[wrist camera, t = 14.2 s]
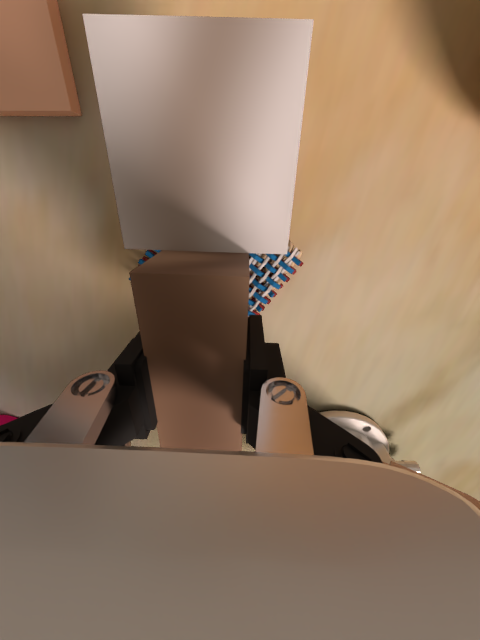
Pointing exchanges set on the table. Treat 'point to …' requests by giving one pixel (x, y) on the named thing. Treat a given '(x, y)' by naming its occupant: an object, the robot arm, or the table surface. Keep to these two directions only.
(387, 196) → the table surface
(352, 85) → the table surface
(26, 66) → the tile
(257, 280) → the woven mat
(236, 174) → the turner
